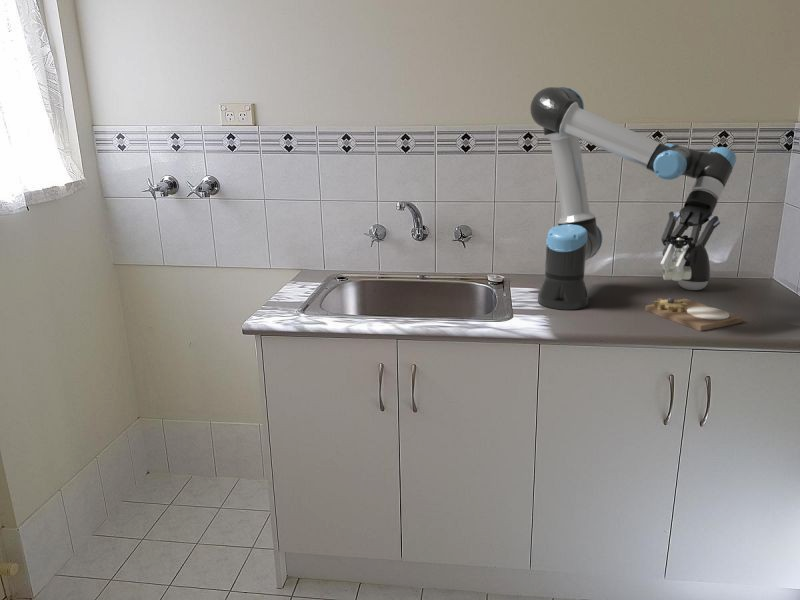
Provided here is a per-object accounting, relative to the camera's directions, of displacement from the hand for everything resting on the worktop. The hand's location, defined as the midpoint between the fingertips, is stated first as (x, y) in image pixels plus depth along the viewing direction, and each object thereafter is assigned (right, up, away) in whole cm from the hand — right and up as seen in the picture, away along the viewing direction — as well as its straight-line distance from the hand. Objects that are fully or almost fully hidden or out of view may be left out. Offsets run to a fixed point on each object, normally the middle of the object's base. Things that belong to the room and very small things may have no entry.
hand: (670, 267), depth 170 cm
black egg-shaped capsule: (+25, -5, +42) cm, 49 cm away
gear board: (+12, -13, +15) cm, 23 cm away
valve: (+3, -3, +5) cm, 7 cm away
